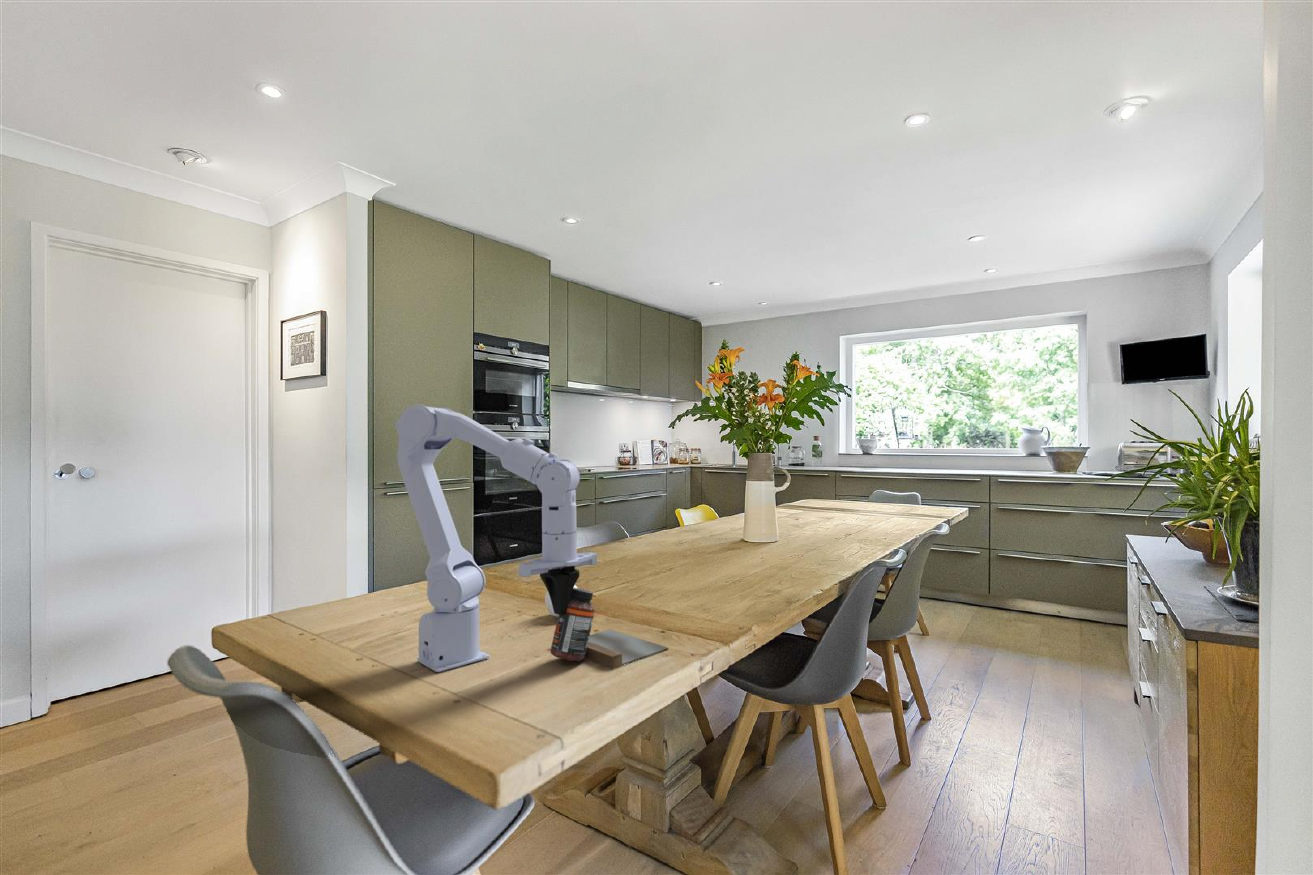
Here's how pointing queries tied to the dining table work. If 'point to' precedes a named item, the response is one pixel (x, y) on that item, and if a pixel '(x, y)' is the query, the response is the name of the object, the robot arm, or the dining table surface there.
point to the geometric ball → (549, 604)
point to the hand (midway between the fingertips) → (560, 613)
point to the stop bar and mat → (618, 648)
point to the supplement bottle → (574, 627)
